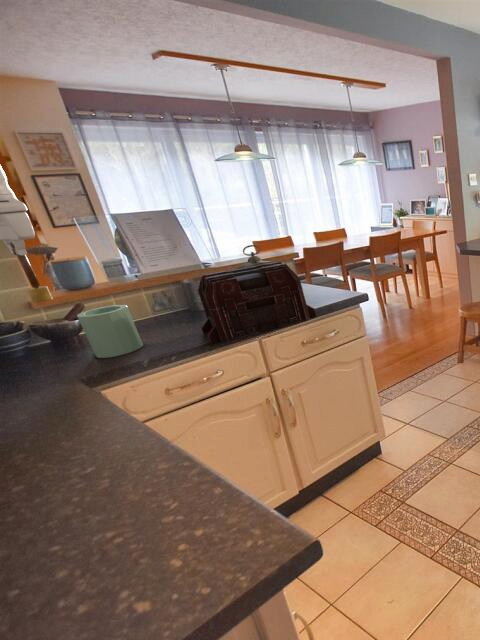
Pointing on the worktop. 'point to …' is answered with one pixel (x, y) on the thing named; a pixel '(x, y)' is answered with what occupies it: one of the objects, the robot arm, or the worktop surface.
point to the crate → (251, 301)
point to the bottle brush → (33, 281)
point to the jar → (110, 331)
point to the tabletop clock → (253, 259)
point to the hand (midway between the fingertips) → (20, 254)
